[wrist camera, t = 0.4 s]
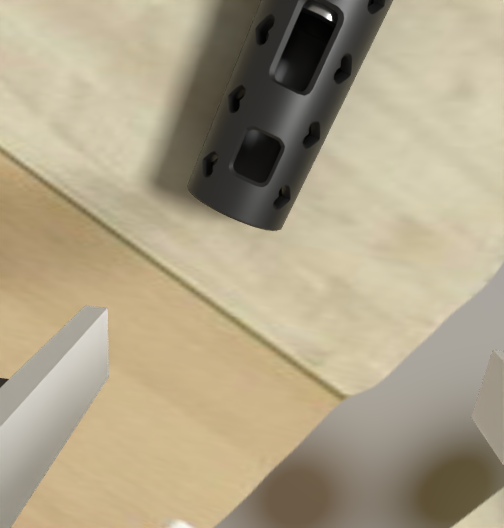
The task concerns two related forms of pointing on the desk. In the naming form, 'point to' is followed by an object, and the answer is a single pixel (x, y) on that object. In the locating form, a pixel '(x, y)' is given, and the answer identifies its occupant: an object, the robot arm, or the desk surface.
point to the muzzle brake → (282, 105)
